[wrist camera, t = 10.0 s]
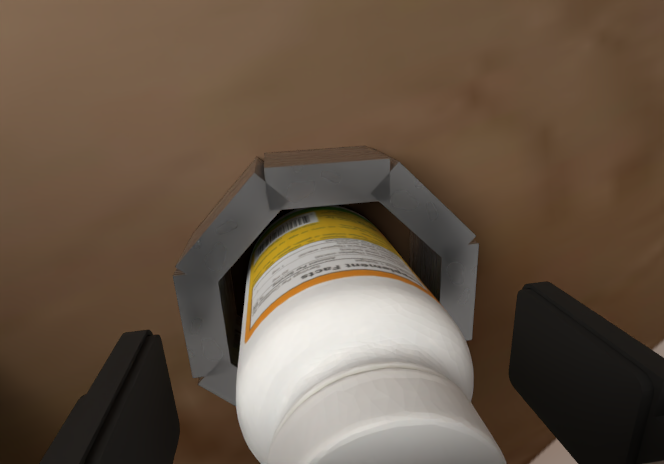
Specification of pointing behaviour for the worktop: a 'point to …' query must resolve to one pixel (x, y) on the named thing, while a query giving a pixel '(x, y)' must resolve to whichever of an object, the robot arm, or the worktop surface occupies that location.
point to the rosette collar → (301, 192)
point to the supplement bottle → (350, 353)
